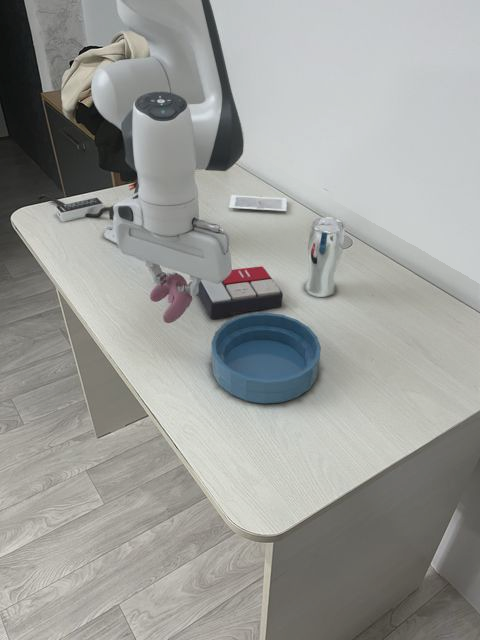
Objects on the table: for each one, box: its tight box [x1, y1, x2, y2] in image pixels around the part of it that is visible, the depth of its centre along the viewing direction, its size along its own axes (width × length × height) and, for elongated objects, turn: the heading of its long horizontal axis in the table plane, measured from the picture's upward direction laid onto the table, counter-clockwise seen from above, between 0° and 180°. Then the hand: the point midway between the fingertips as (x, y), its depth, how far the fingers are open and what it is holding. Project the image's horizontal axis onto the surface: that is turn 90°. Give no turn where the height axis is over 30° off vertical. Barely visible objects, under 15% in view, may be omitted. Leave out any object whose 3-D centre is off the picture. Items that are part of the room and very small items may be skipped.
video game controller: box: [149, 272, 194, 324], centre depth 93 cm, size 10×5×7 cm, turn 25°
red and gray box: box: [197, 265, 284, 320], centre depth 109 cm, size 11×4×15 cm
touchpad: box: [228, 194, 288, 212], centre depth 143 cm, size 8×15×2 cm, turn 88°
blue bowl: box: [211, 312, 322, 404], centre depth 93 cm, size 18×18×5 cm
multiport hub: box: [54, 197, 105, 223], centre depth 136 cm, size 4×11×2 cm, turn 125°
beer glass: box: [305, 216, 346, 298], centre depth 110 cm, size 7×7×15 cm
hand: (176, 288), depth 91 cm, fingers closed on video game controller, 5 cm apart
